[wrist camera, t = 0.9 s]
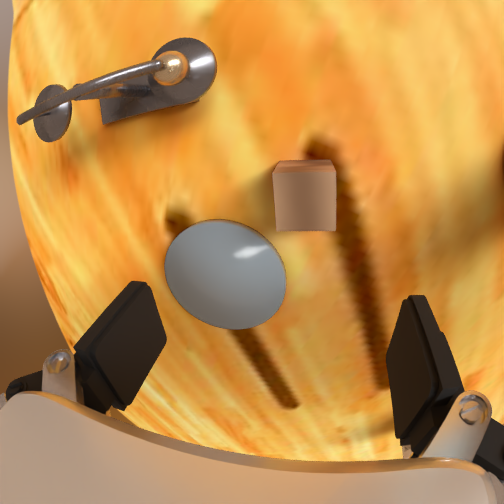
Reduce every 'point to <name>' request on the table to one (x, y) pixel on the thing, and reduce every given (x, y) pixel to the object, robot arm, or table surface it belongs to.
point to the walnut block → (305, 195)
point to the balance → (130, 88)
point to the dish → (225, 274)
